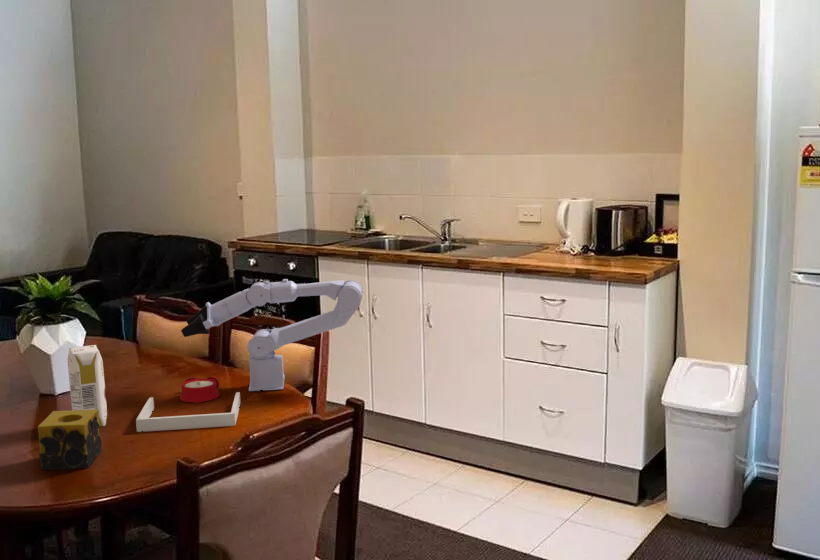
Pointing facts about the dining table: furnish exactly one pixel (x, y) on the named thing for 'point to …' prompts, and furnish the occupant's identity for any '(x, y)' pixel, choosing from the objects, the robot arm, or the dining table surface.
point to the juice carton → (87, 381)
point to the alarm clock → (199, 389)
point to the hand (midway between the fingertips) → (185, 328)
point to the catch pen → (185, 419)
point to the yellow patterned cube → (69, 440)
